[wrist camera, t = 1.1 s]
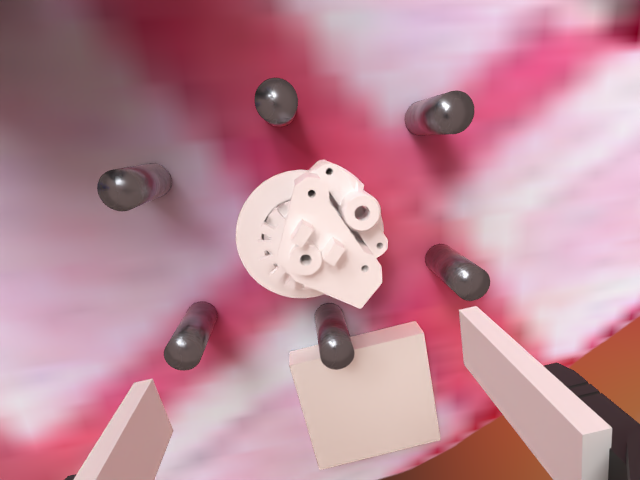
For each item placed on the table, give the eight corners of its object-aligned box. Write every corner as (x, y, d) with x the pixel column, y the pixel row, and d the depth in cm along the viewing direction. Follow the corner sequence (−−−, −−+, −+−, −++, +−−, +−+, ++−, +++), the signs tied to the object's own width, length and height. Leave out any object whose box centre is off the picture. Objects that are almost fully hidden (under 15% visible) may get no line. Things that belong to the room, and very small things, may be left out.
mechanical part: (219, 210, 34) (184, 247, 22) (323, 135, 33) (342, 133, 21) (290, 298, 37) (290, 369, 25) (387, 231, 36) (433, 274, 24)
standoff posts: (117, 127, 31) (70, 124, 24) (429, 56, 32) (467, 33, 25) (203, 359, 38) (184, 407, 31) (458, 297, 38) (494, 331, 32)
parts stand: (289, 351, 38) (289, 365, 36) (415, 320, 39) (423, 332, 36) (317, 451, 42) (319, 470, 40) (432, 423, 43) (440, 439, 40)
